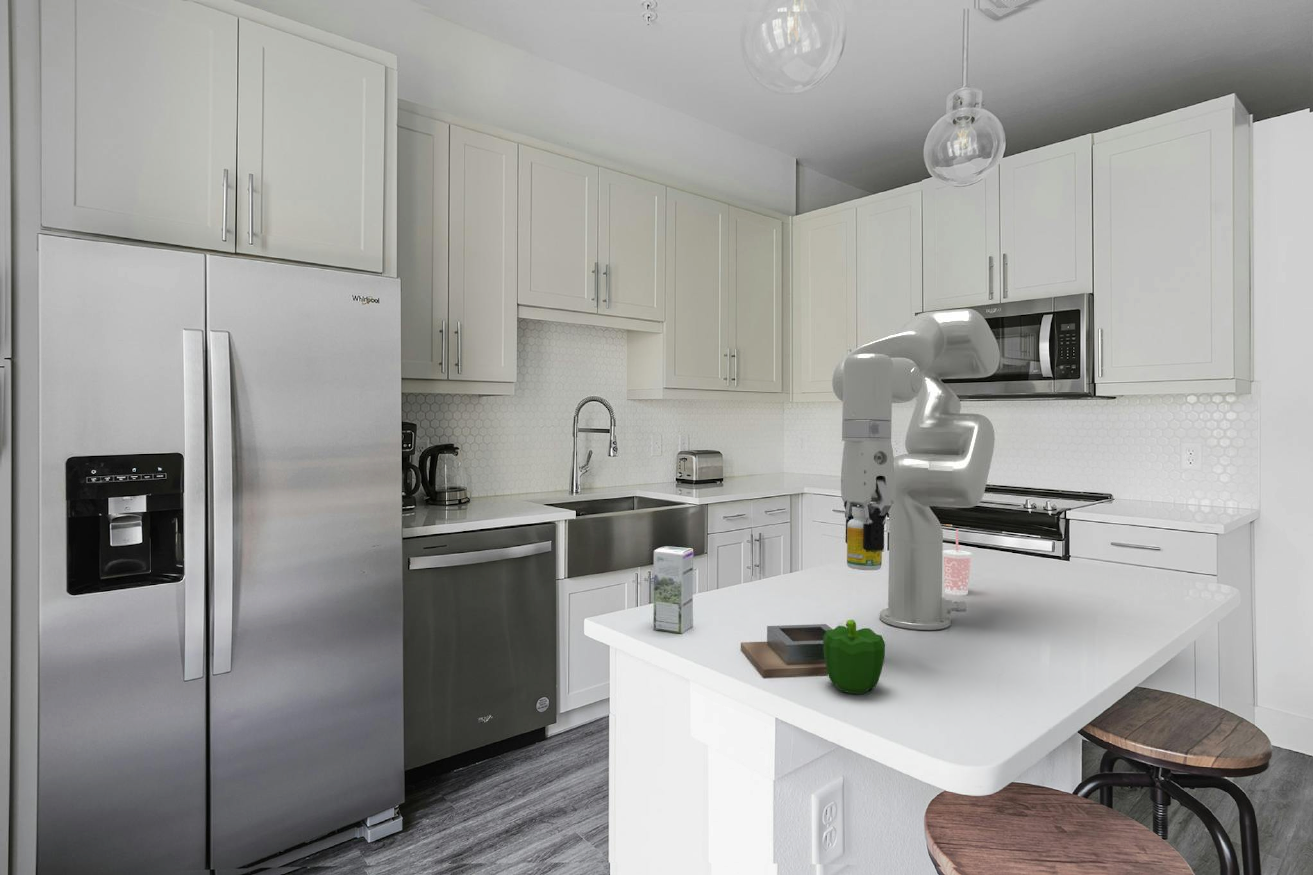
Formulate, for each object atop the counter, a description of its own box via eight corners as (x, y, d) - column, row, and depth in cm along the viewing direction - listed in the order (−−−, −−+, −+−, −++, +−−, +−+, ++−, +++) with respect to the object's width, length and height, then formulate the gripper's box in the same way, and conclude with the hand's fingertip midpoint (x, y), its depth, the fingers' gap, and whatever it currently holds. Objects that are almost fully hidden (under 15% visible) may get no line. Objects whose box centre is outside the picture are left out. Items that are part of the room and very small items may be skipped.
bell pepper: (844, 673, 106) (844, 606, 106) (894, 688, 100) (895, 617, 100) (809, 686, 101) (810, 616, 100) (860, 703, 94) (861, 629, 94)
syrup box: (693, 626, 130) (694, 547, 130) (681, 634, 125) (682, 552, 125) (665, 622, 133) (666, 544, 133) (652, 630, 127) (652, 549, 127)
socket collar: (825, 642, 117) (825, 623, 117) (850, 662, 107) (850, 642, 107) (767, 644, 116) (767, 626, 116) (786, 664, 106) (786, 644, 106)
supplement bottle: (861, 563, 116) (862, 505, 116) (888, 568, 112) (890, 508, 112) (839, 566, 113) (840, 506, 113) (866, 572, 109) (868, 509, 109)
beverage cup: (935, 590, 160) (936, 528, 160) (959, 588, 162) (960, 527, 161) (953, 596, 154) (954, 532, 154) (977, 595, 156) (978, 531, 156)
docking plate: (845, 645, 119) (845, 638, 119) (880, 672, 106) (880, 664, 106) (740, 649, 117) (740, 642, 117) (763, 677, 104) (763, 669, 104)
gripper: (917, 432, 105) (914, 555, 105) (863, 433, 122) (861, 539, 122) (869, 431, 104) (866, 555, 104) (822, 432, 121) (820, 539, 121)
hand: (864, 545), depth 113 cm, fingers closed on supplement bottle, 5 cm apart
